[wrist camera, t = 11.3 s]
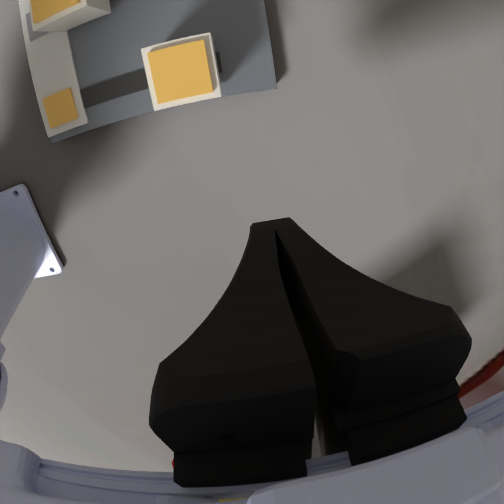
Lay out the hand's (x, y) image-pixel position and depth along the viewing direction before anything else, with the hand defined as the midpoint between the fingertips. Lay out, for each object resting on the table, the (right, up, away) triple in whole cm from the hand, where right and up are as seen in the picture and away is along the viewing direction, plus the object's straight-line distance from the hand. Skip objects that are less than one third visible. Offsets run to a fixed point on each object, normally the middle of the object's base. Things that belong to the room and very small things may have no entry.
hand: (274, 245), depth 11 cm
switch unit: (-8, +15, +2) cm, 17 cm away
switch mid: (-10, +13, 0) cm, 17 cm away
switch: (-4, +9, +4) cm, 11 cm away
